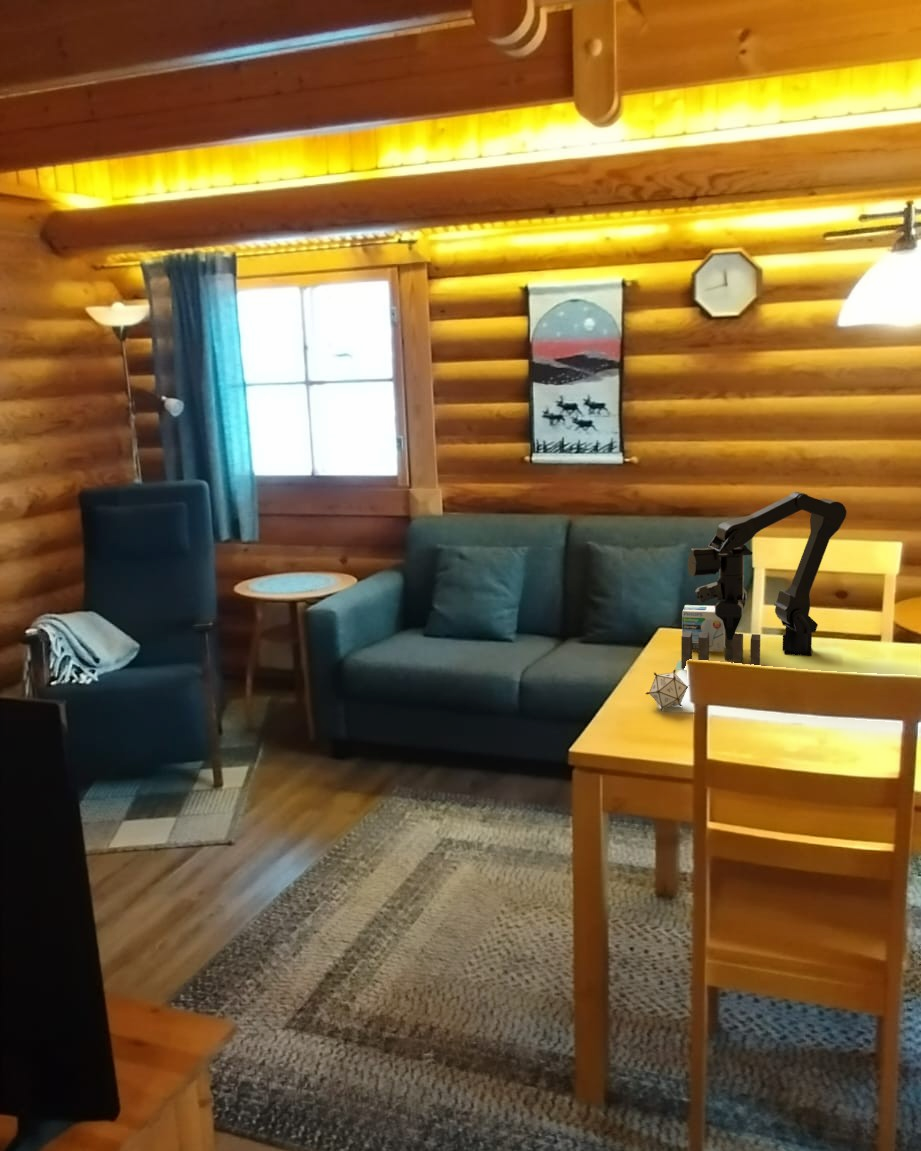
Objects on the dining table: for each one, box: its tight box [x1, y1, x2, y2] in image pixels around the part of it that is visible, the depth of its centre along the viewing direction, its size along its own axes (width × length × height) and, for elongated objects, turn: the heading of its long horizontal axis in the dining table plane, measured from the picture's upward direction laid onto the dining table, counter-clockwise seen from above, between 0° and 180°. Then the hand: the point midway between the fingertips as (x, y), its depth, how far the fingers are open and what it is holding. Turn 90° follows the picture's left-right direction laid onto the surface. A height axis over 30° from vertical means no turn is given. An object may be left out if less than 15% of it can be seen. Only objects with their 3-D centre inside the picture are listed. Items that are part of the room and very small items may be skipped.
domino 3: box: [724, 632, 734, 662], centre depth 253 cm, size 2×5×8 cm, turn 161°
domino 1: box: [680, 631, 693, 669], centre depth 248 cm, size 2×5×8 cm, turn 161°
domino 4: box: [732, 632, 744, 664], centre depth 244 cm, size 2×5×8 cm, turn 161°
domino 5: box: [749, 633, 761, 665], centre depth 242 cm, size 2×5×8 cm, turn 161°
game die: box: [645, 669, 689, 712], centre depth 220 cm, size 9×8×10 cm
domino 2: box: [697, 632, 710, 661], centre depth 246 cm, size 2×5×8 cm, turn 161°
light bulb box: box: [681, 604, 725, 653], centre depth 262 cm, size 11×7×11 cm, turn 72°
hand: (731, 634), depth 253 cm, fingers open, 9 cm apart
